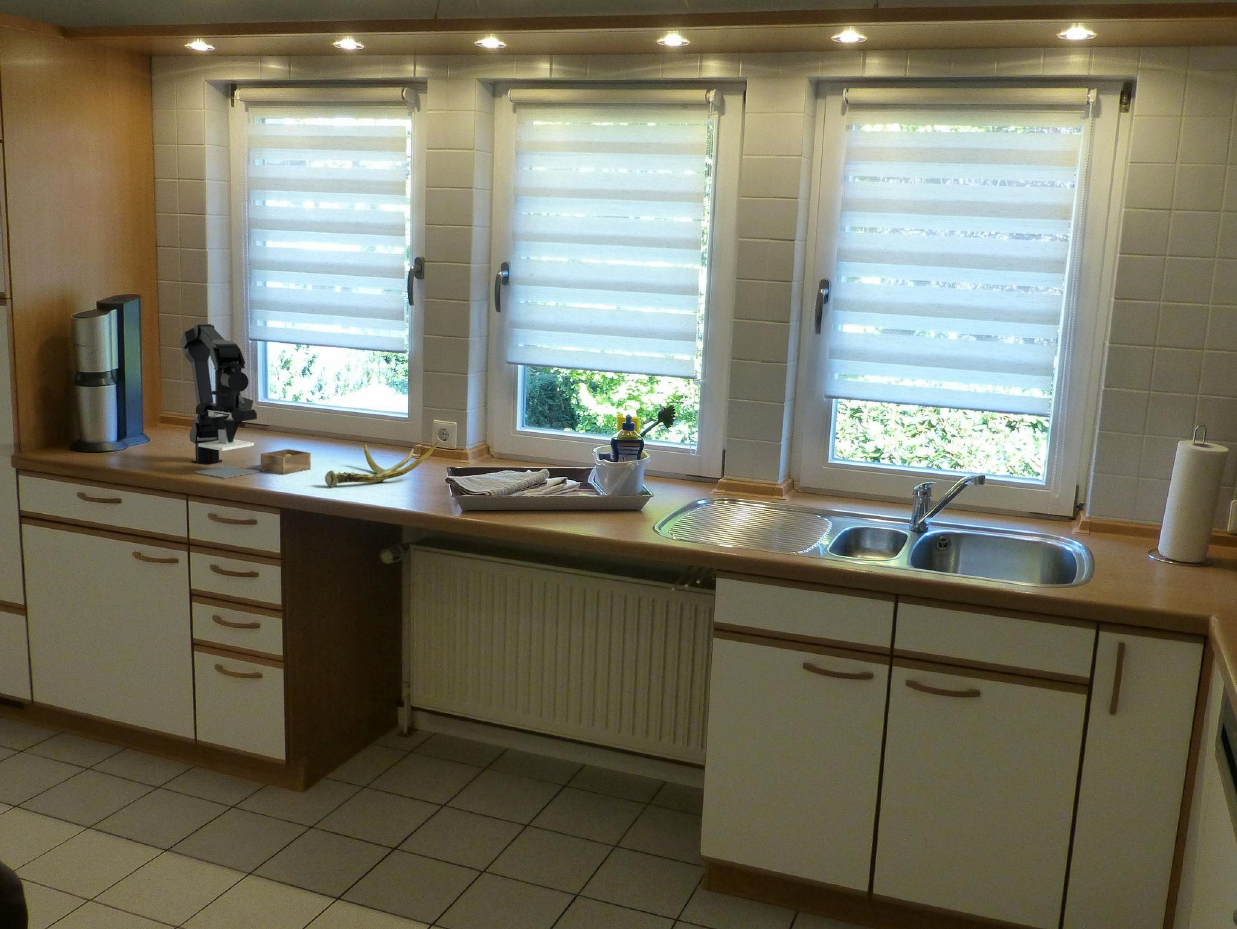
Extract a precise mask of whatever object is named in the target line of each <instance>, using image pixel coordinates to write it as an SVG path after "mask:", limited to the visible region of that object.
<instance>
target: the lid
mask: <svg viewBox="0 0 1237 929" xmlns="http://www.w3.org/2000/svg"><path fill="white" fill-rule="evenodd" d="M218 438H219V440H218V441H212V442H205V443H199V444H198V446H199V447H205V448H210V449H216V450H219V451H222V452H223V451H229V450H235V449H241V448H248V447H252V446H255V443H254V442H252V441H246V440H239V439H235V438H234V439H233V442H229V441H228V438H227V433H226V429H218Z"/></svg>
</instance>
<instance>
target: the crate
mask: <svg viewBox="0 0 1237 929" xmlns="http://www.w3.org/2000/svg"><path fill="white" fill-rule="evenodd" d="M311 453H312V452H308V451H302V450H297V449H290V448H286V449H281V450H274V451H268V452H264V453H260V471H261V470H263V471H262V472H266V473H274V474H277V473H279V474H278V475H283V476H284V475H289V474H294V473H298V472H303V470H304V471H309V470H311V469H312V467H311V466H312V464H311V463H312V462H311V455H312V454H311Z"/></svg>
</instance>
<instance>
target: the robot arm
mask: <svg viewBox="0 0 1237 929" xmlns="http://www.w3.org/2000/svg"><path fill="white" fill-rule="evenodd" d="M180 346H181V349H182V350H183V355H184V357H185V358H186V359H187V360H188V361H189V363H190V365H191V371H192V379H193V385H194V392H195V399H196V407H195V415H194V417H193V424H192V426H191V429H190V432H189V441H190V442H191V443H193V444H195V445H194V446H195V451H194V452H195V459H191V460H190V461H191V462H192V463H197V464H203V465H209V464H215V463H221V462H223V459H221V458H220V450H216V449H210V448H205V447H199V446H198V444H199V443H205V442H212V441H218V440H219V438H218V429H226V433H227V438H228V441H229V442H233V439H235V437H236V434H237V431H238V428H239V427H240V425H241V423H242V422H245V421H252V420H254V421H255V420H257V419H258V413H257V410H255V409H253V408H252V407H253V404H254V400H253V399H250V398H246V397H244V396H242V395H241V392H243V391H245V390H246V389H247V388H248V386H249V378H248V376H247V374H246V373H244V372H243V371H242V369H245V366H246V365H245V364H246V361H245V358H244V355H243V352H242V351H241V348H240V347H239V346H238V344H237V343H236V342H234V341H231V340H226V339H225V338H223V336H222V335H221V334H220V333H219V332H218V331H217V330H216V329H215V326H214V325H213V324H211V323H198V324H195V325H194V326H193V327H192V328H190V329H188V330H186V331H184V333H183V334H182V336H181V337H180ZM209 358H210V360H211V362H212V364H213V366H214V368H213V369H214V382H215V384H214V385H215V386H214V387H215V388H214V390H212V384H211V382H212V381H211V376H210V369H209V362H208V361H209ZM213 395H214V397H213ZM214 398H215V402H214Z"/></svg>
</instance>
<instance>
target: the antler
mask: <svg viewBox="0 0 1237 929" xmlns="http://www.w3.org/2000/svg"><path fill="white" fill-rule="evenodd" d="M440 443H441V440H439V441H437V442H436V443H434V444H433V445H432V446H431V447H430V448H429V449H428V450H427V451H426V452H425V453H424V454H422V455H421V456H420V457H419V458H417V459H415V460H414V461H413V462H412V463H410V464H409V465H407V463H408V462H409V461H410V460H411V458H413V457H412V456H413V453H414V449H415V448H411V450H410V452H409V454H407V456H406V457H405V458H404V459H402V461H400V462H399V463H397V464H395V465H393V466H392V467H390V468H388V469H387V468H386V469H384V468H382V467H381V466H379V465H378V464H377V463H376V462H375V460H374V459H373V457H372V455H371V454H370V452H369V450H368V445H367V443H365V444H364V447H363V448H364V449H363V451H364V452H363V453H364V456H365V459H366V462H367V464H368V466H369V467H370V470H372V471H373V472H375V473H376V474H371V473H370V474H368V473H367V474H366V473H359V472H358V473H357V472H354V471H353V472H348V471H347V472H346V471H344V472H340V471H338V473H335V471H334V470H329V471H328V472H326V474H325V476H324V481H325V484H326V485H327V486H328V487H329V488H331V487H332V488H334V487H336V486H338V484H346V483H379V482H382V481H385V480H390V479H393V478H397V477H401V476H404V475H406V474H407V473H409V472H410V471H413V470H414V469H415V468H417V467H418V466H420V464H422V463H423V462H424V461H426V459H428V458H429V457H430V456H431V455H432V453H433V452H434V451H435V449H437V447H438V446H439V444H440ZM405 465H407V466H406V467H404V466H405ZM402 467H403V468H402Z"/></svg>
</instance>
